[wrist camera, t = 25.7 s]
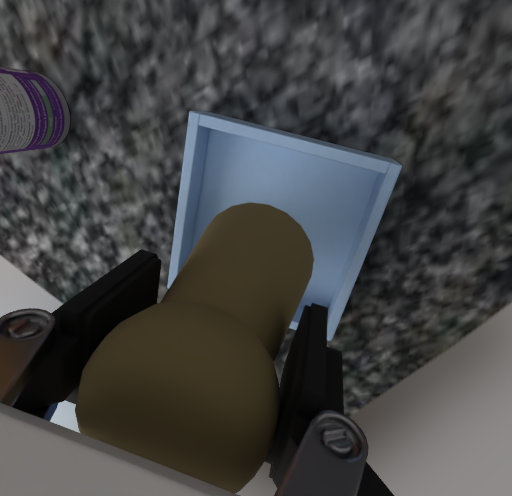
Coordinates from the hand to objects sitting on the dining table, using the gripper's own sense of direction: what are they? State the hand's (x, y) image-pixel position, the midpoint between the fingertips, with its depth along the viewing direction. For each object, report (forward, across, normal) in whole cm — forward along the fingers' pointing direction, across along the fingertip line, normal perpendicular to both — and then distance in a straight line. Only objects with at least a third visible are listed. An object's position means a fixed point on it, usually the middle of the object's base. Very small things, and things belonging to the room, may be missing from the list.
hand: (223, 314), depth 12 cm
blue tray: (+11, 0, 0) cm, 11 cm away
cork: (+6, 0, 0) cm, 6 cm away
